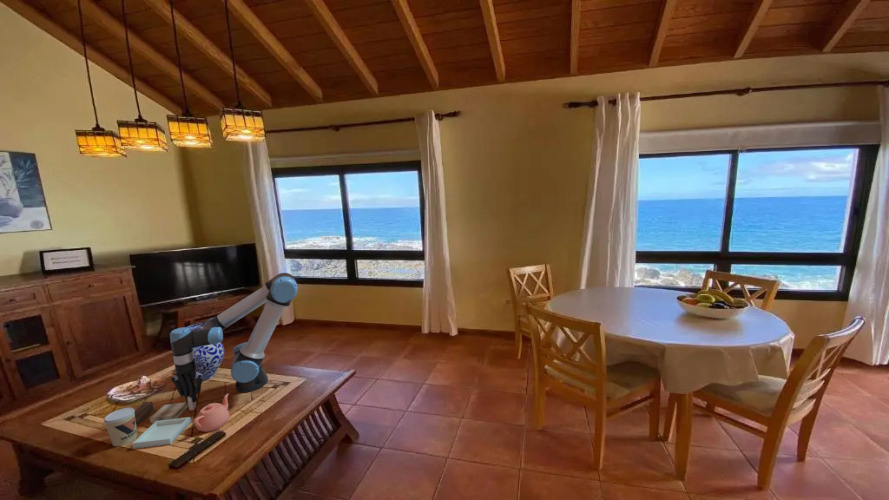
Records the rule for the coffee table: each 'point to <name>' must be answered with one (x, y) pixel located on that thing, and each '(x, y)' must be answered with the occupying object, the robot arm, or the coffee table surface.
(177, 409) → the grey wooden square slab
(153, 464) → the coffee table surface
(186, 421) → the tray
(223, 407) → the teapot
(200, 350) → the vase
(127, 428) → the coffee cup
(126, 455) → the coffee table surface
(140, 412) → the block
